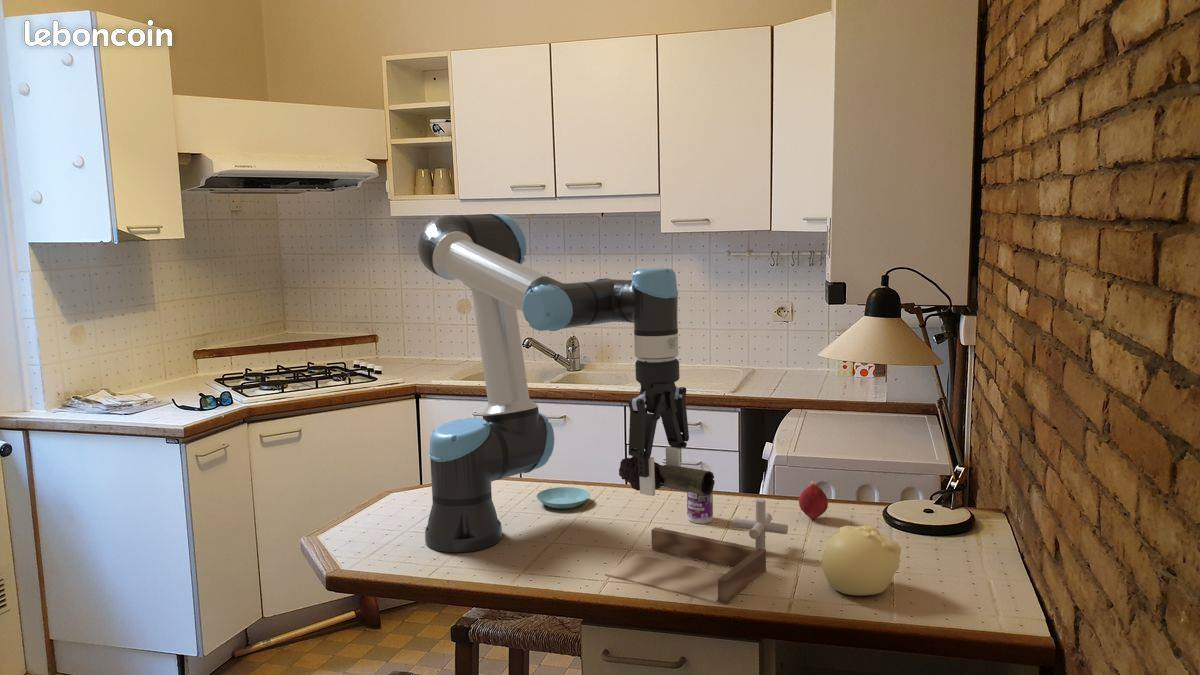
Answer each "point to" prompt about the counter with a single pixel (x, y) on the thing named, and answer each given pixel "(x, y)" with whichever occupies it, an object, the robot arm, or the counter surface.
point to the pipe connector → (760, 524)
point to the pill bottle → (699, 507)
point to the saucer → (563, 497)
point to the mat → (669, 576)
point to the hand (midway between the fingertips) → (661, 488)
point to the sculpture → (860, 560)
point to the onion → (813, 501)
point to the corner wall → (715, 558)
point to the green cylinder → (670, 477)
